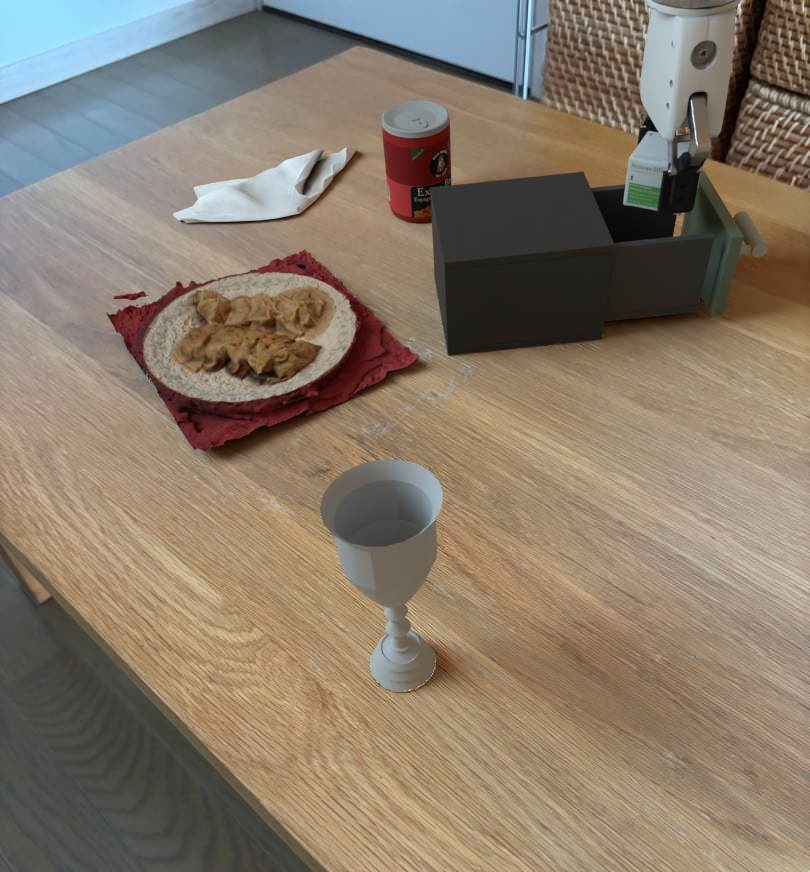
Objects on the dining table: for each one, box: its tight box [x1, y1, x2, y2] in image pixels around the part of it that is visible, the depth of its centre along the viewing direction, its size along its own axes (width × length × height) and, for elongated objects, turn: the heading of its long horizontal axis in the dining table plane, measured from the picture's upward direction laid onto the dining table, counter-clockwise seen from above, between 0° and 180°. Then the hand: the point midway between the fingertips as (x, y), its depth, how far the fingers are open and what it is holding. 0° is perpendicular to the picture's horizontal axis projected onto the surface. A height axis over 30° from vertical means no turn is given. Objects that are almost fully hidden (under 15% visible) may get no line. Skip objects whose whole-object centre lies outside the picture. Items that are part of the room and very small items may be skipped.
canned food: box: [381, 100, 452, 224], centre depth 101 cm, size 8×8×11 cm
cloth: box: [172, 146, 358, 224], centre depth 109 cm, size 26×14×2 cm, turn 113°
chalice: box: [319, 458, 444, 692], centre depth 57 cm, size 7×7×18 cm
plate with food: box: [106, 248, 418, 452], centre depth 88 cm, size 24×26×4 cm
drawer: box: [590, 170, 769, 322], centre depth 87 cm, size 19×12×9 cm, turn 94°
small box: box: [623, 131, 701, 217], centre depth 81 cm, size 6×6×5 cm
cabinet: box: [430, 171, 615, 356], centre depth 87 cm, size 16×14×11 cm
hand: (662, 188), depth 82 cm, fingers closed on small box, 7 cm apart
